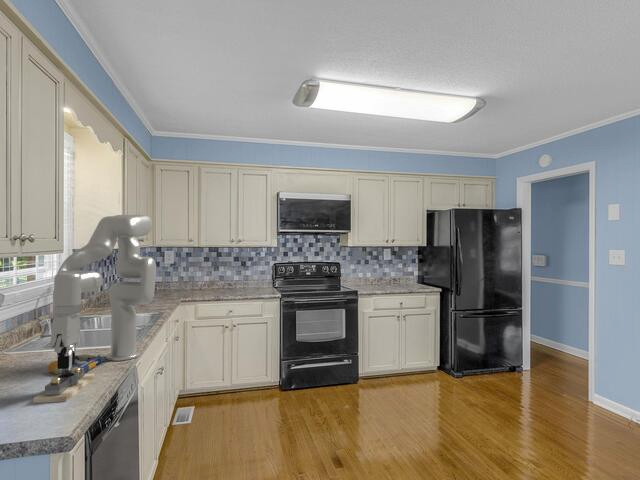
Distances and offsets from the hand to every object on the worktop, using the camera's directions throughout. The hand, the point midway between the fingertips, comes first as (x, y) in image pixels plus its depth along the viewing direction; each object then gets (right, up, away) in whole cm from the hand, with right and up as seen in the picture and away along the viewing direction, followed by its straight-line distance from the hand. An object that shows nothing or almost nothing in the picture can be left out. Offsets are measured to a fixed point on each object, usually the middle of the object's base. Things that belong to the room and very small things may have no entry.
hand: (66, 366), depth 122 cm
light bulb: (0, -2, 0) cm, 2 cm away
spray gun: (-10, -9, +20) cm, 24 cm away
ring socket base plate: (0, -8, 0) cm, 8 cm away
